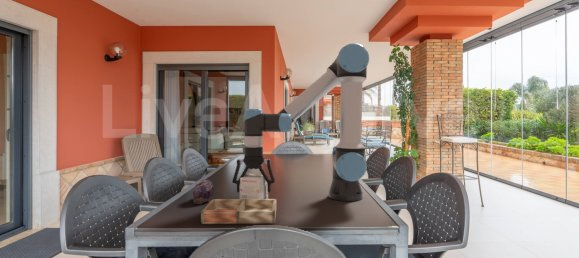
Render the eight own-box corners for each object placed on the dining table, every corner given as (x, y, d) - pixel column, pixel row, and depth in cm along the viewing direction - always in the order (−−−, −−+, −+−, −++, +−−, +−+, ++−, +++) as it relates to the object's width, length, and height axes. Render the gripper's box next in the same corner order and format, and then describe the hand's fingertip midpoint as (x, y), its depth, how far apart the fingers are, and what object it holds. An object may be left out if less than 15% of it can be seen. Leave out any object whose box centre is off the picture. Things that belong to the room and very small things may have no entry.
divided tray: (276, 209, 127) (276, 198, 127) (274, 223, 110) (274, 210, 110) (212, 209, 127) (212, 198, 127) (200, 223, 110) (200, 211, 109)
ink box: (267, 202, 137) (267, 171, 137) (259, 207, 129) (259, 174, 129) (249, 200, 140) (248, 169, 139) (240, 205, 132) (239, 173, 131)
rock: (189, 208, 134) (214, 206, 135) (188, 188, 132) (213, 187, 133) (194, 196, 145) (217, 195, 146) (192, 178, 143) (216, 177, 145)
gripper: (281, 145, 137) (281, 197, 138) (227, 145, 137) (228, 197, 138) (280, 147, 130) (281, 202, 131) (224, 147, 130) (224, 202, 131)
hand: (253, 199), depth 134 cm, fingers closed on ink box, 10 cm apart
